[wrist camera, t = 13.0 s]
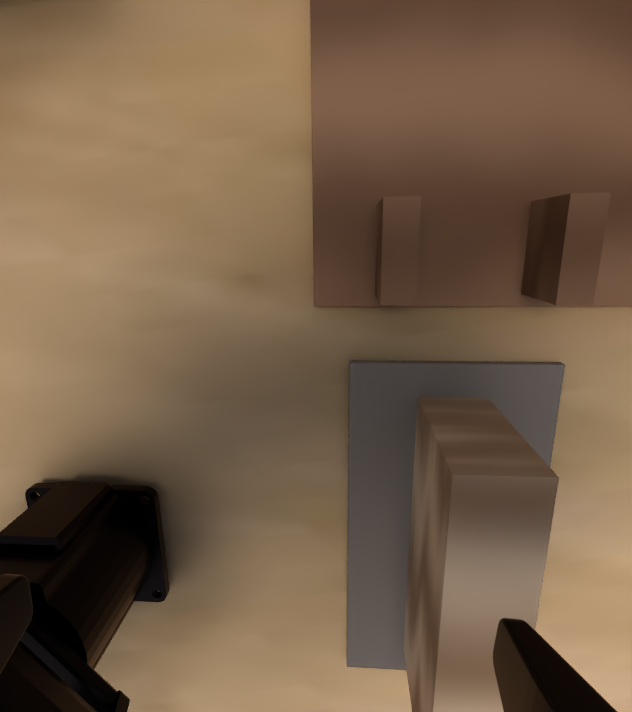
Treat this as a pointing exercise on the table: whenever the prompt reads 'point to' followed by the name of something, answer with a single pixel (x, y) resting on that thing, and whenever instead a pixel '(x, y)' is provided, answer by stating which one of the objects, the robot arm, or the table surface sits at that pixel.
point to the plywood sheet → (470, 549)
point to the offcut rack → (472, 152)
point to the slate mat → (395, 476)
